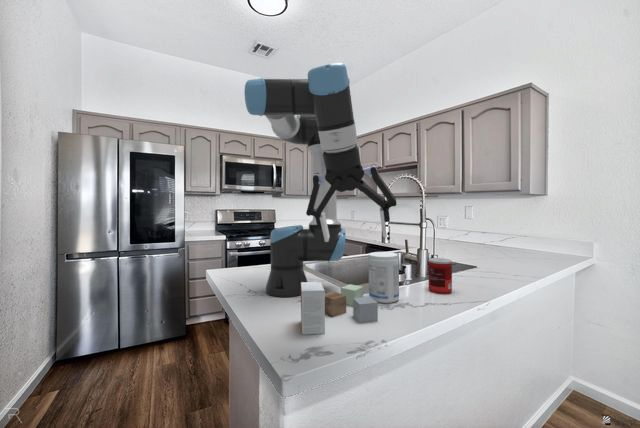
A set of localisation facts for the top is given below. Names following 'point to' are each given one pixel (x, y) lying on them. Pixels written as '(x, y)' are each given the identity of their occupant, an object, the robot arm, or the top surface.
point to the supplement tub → (383, 277)
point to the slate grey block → (365, 309)
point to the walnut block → (335, 304)
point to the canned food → (440, 275)
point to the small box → (312, 308)
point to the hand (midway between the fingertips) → (355, 236)
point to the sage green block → (352, 293)
